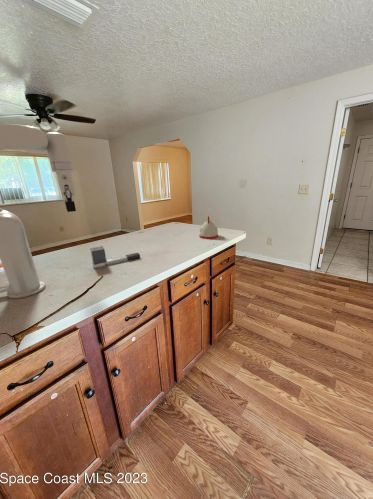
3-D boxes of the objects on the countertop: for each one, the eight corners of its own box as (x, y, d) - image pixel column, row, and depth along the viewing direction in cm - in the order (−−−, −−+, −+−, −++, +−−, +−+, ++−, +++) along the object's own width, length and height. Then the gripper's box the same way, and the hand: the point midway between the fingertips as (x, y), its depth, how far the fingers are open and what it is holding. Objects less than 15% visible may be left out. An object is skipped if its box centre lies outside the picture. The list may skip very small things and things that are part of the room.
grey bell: (217, 234, 160) (218, 215, 155) (218, 239, 147) (218, 218, 142) (200, 234, 162) (199, 215, 157) (198, 239, 149) (198, 218, 144)
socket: (94, 264, 102) (91, 251, 100) (92, 261, 107) (89, 248, 105) (106, 262, 105) (104, 249, 103) (104, 258, 110) (102, 246, 108)
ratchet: (94, 269, 103) (91, 257, 101) (92, 265, 108) (89, 253, 106) (141, 259, 114) (139, 248, 112) (137, 255, 120) (136, 245, 118)
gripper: (73, 166, 78) (82, 211, 83) (71, 169, 92) (79, 207, 98) (50, 166, 74) (61, 213, 80) (51, 169, 88) (60, 209, 94)
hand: (71, 210), depth 89 cm, fingers open, 9 cm apart
